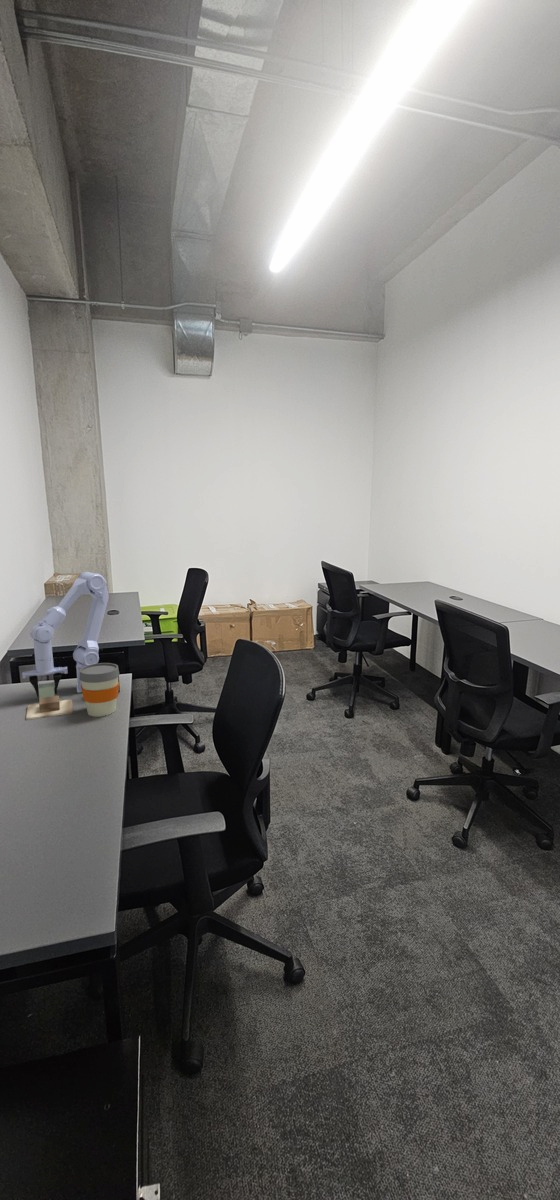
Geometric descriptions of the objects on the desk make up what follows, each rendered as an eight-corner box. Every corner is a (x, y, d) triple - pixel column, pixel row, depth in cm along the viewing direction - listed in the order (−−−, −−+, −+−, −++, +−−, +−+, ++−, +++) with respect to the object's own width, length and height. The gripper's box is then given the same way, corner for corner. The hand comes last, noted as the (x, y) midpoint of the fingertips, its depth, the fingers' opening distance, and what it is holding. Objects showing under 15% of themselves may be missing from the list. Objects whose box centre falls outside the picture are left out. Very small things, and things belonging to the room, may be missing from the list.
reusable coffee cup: (96, 722, 161) (93, 677, 158) (74, 712, 168) (71, 669, 166) (129, 709, 171) (126, 667, 168) (107, 701, 178) (104, 660, 176)
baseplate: (71, 700, 179) (71, 691, 178) (72, 713, 168) (72, 702, 167) (28, 706, 173) (27, 696, 172) (26, 720, 162) (25, 709, 162)
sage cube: (55, 695, 184) (54, 682, 183) (55, 699, 180) (53, 686, 179) (40, 697, 182) (38, 684, 181) (39, 702, 178) (38, 688, 177)
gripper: (66, 652, 185) (68, 688, 187) (21, 657, 179) (25, 693, 181) (66, 658, 178) (69, 694, 181) (20, 663, 173) (24, 700, 175)
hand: (47, 694), depth 181 cm, fingers closed on sage cube, 5 cm apart
